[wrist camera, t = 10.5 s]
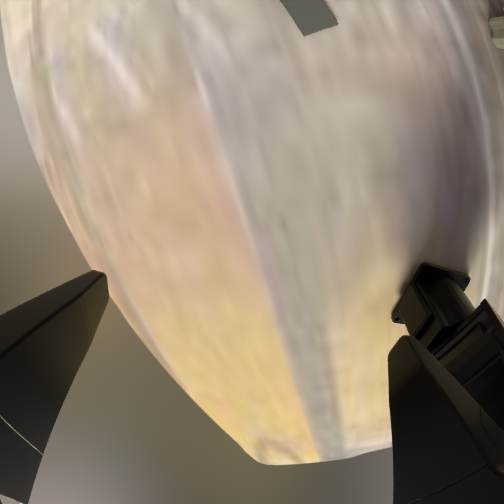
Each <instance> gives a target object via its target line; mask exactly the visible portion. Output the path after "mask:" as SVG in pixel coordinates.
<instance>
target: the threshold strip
mask: <svg viewBox="0 0 504 504" xmlns="http://www.w3.org/2000/svg"><path fill="white" fill-rule="evenodd" d="M280 1H281V2H282V4H283V5H284V6H285V8H286V9H287V11H288V12H289V14H290V15H291V17H292V18H293V20H294V21H295V23H296V24H297V26H298V28H299V29H300V31H301V32H302V34H303V36H307V35H309V34H312V33H315V32H318V31H321V30H323V29H326V28H329V27H333V26H336V25H338V22H337V21H336V19H335V17H334V16H333V14H332V13H331V11H330V10H329V8H328V6H327V5H326V3H325V2H324V0H280Z"/></svg>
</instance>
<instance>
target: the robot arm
mask: <svg viewBox="0 0 504 504" xmlns="http://www.w3.org/2000/svg"><path fill="white" fill-rule="evenodd" d="M425 268H426V269H425ZM424 269H425V270H424ZM469 282H470V277H469V276H468V275H467V274H463V273H460V272H457V271H453V270H450V269H447V268H443V267H440V266H436V265H433V264H429V263H423V264H422V265H421V266H420V267H419V269H418V271H417V273H416V275H415V277H414V278H413V280H412V282H411V284H410V286H409V287H408V289H407V291H406V293H405V294H404V296H403V298H402V299H401V301H400V303H399V304H398V306H397V308H396V309H395V311H394V313H393V314H392V316H391V319H392V321H393V322H394V323H400V324H405V325H406V328H407V330H408V332H409V335H410V336H407V335H403V336H402V337H400V338H399V340H398V341H397V343H396V344H395V345H394V347H393V348H392V349H391V351H390V352H389V355H388V379H389V407H390V417H391V430H392V446H393V483H394V484H393V504H504V322H503V320H502V319H501V318H500V316H499V315H498V314H497V313H496V311H495V310H494V309H493V307H492V306H491V305H490V304H489V303H488V301H487V300H486V299H484V300H483V301H482V302H481V303H480V305H479V306H478V307H477V308H476V309H475V308H474V306H473V305H472V303H471V302H470V300H469V299H468V297H467V296H466V295H465V293H464V291H465V289H466V287H467V286H468V284H469ZM108 300H109V291H108V283H107V276H106V274H105V273H103V272H100V271H96V270H92V271H90V272H87V273H85V274H83V275H81V276H79V277H77V278H74V279H72V280H70V281H68V282H66V283H64V284H62V285H60V286H58V287H56V288H53V289H51V290H49V291H47V292H45V293H43V294H41V295H40V296H37V297H35V298H33V299H31V300H29V301H27V302H25V303H23V304H21V305H19V306H17V307H15V308H13V309H12V310H9V311H8V312H6V313H4V314H2V315H0V495H2V496H5V497H7V498H9V499H12V500H15V501H17V502H20V503H23V504H28V502H29V498H30V495H31V491H32V488H33V484H34V481H35V478H36V475H37V471H38V468H39V465H40V462H41V459H42V457H43V455H42V454H43V453H44V450H45V448H46V445H47V442H48V439H49V437H50V434H51V431H52V429H53V426H54V424H55V421H56V419H57V417H58V414H59V412H60V409H61V407H62V405H63V402H64V400H65V398H66V396H67V393H68V391H69V389H70V387H71V385H72V382H73V380H74V378H75V376H76V374H77V372H78V370H79V367H80V366H81V363H82V361H83V359H84V357H85V355H86V353H87V351H88V349H89V347H90V345H91V343H92V341H93V338H94V335H95V333H96V330H97V328H98V325H99V323H100V320H101V318H102V315H103V313H104V310H105V308H106V306H107V303H108ZM396 317H397V318H396ZM0 504H2V503H1V501H0Z"/></svg>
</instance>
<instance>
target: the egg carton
mask: <svg viewBox="0 0 504 504" xmlns="http://www.w3.org/2000/svg"><path fill="white" fill-rule="evenodd" d="M503 11H504V8H503ZM489 23H490V25H491V28H492V31H493V35H492V38H491V39H492V41H493V43H494V44H495V46H496V47H497V48H498V49H504V16H501V17H493V18H491V19H490V20H489Z"/></svg>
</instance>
